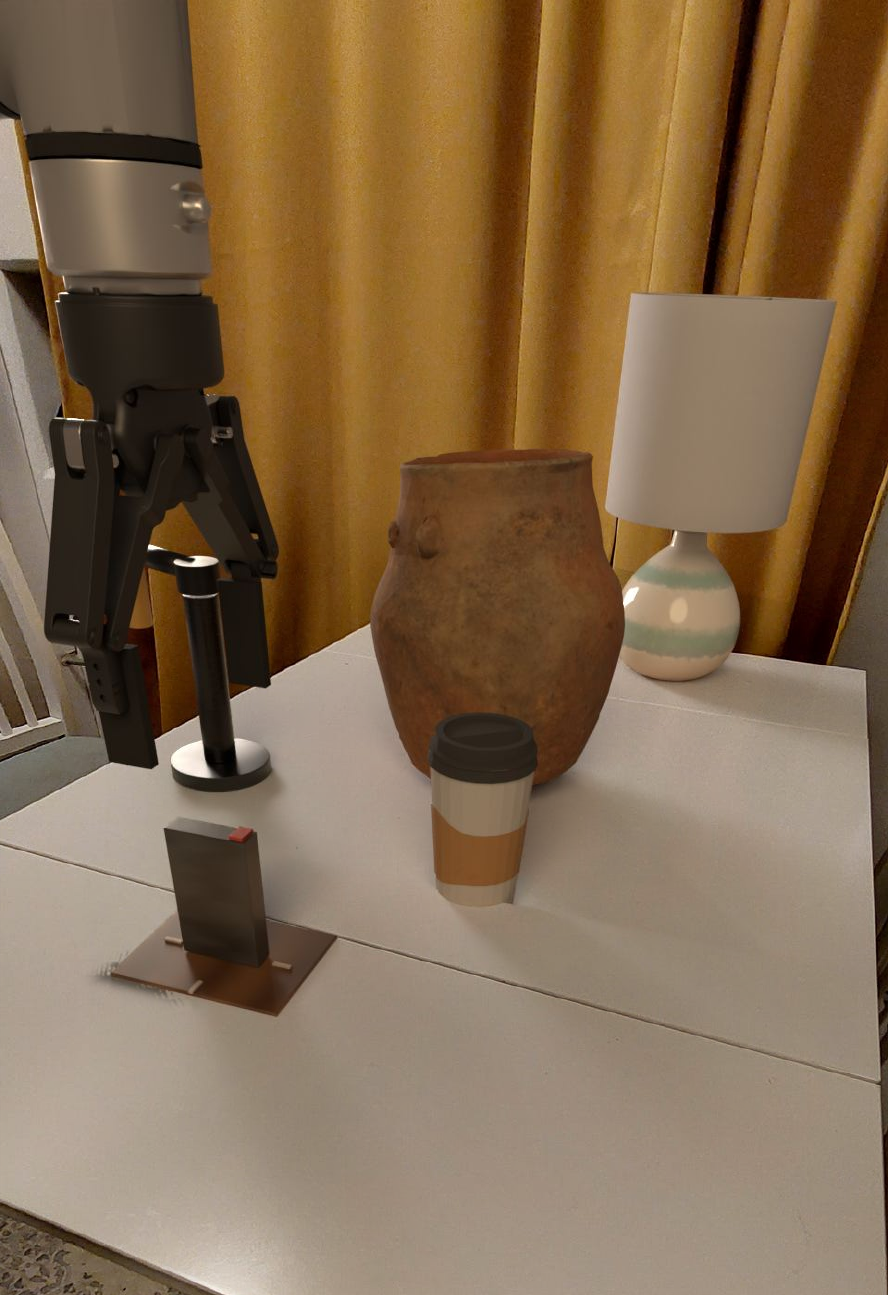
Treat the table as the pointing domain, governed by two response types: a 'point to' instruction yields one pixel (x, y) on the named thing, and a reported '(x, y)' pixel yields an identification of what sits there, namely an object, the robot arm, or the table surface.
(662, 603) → the lamp
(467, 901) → the coffee cup
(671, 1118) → the table surface
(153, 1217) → the table surface
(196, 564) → the crank handle
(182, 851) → the dark gray slab
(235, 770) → the faucet
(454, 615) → the pot
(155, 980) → the brown wooden board
